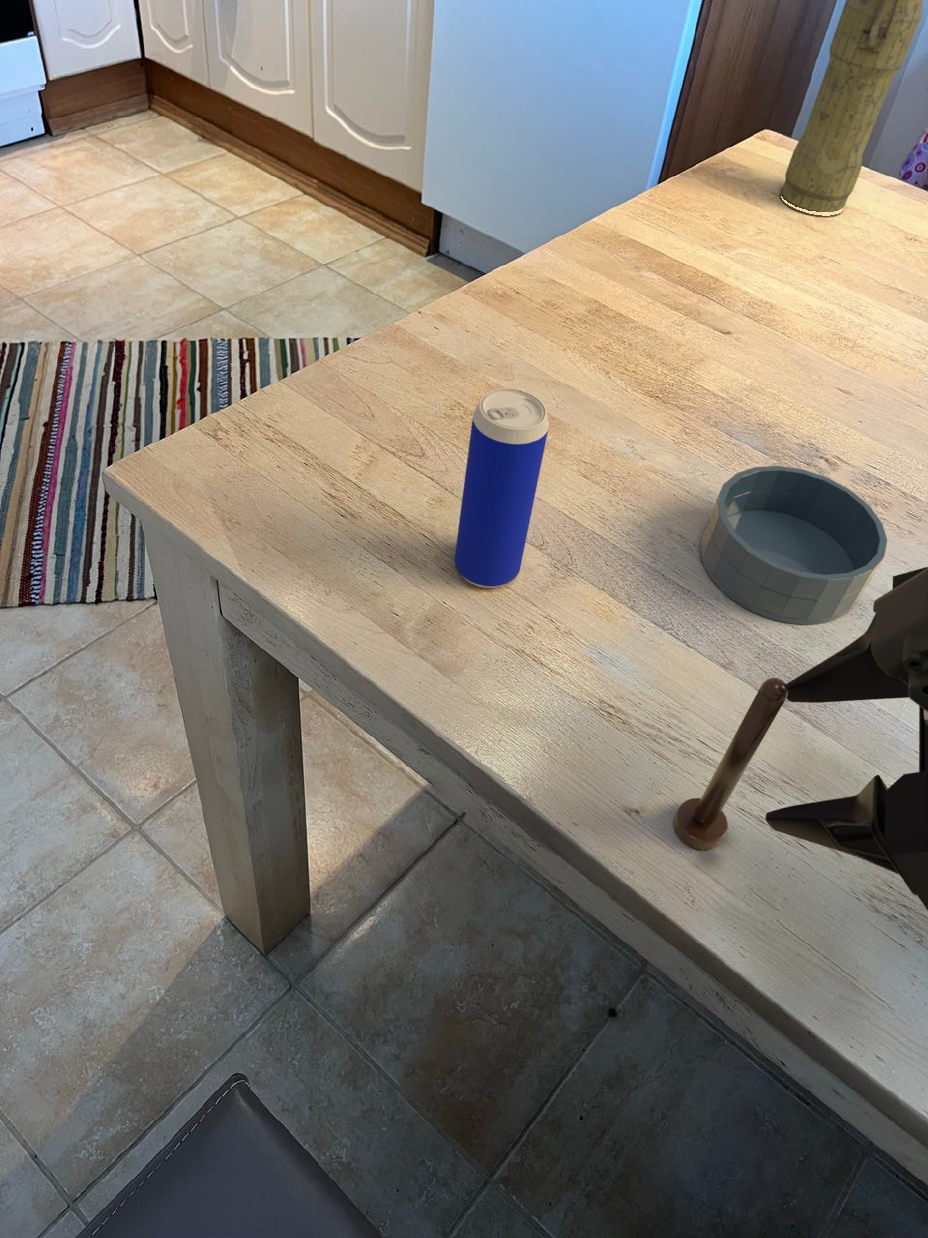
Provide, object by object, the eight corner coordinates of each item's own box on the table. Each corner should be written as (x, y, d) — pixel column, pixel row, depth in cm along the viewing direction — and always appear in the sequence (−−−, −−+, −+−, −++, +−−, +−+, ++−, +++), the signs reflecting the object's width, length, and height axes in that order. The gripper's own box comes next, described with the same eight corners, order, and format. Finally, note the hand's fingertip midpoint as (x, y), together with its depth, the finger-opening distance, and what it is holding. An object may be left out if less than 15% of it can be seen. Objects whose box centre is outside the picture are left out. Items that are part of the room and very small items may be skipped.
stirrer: (728, 818, 61) (814, 673, 50) (716, 858, 59) (803, 716, 48) (680, 798, 61) (755, 650, 51) (667, 837, 59) (742, 692, 48)
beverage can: (500, 539, 76) (528, 380, 65) (530, 582, 73) (565, 423, 62) (442, 554, 74) (461, 393, 63) (471, 599, 72) (496, 438, 60)
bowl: (870, 544, 81) (895, 499, 77) (847, 648, 72) (875, 603, 68) (720, 492, 83) (738, 447, 80) (682, 586, 75) (700, 540, 71)
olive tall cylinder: (842, 190, 132) (965, -124, 106) (846, 227, 124) (980, -104, 98) (778, 178, 132) (885, -137, 107) (778, 213, 124) (894, -118, 99)
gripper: (1025, 448, 46) (731, 545, 56) (1063, 740, 34) (677, 800, 43) (1096, 607, 51) (814, 671, 60) (1152, 915, 38) (786, 934, 48)
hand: (777, 754), depth 53 cm, fingers open, 9 cm apart
